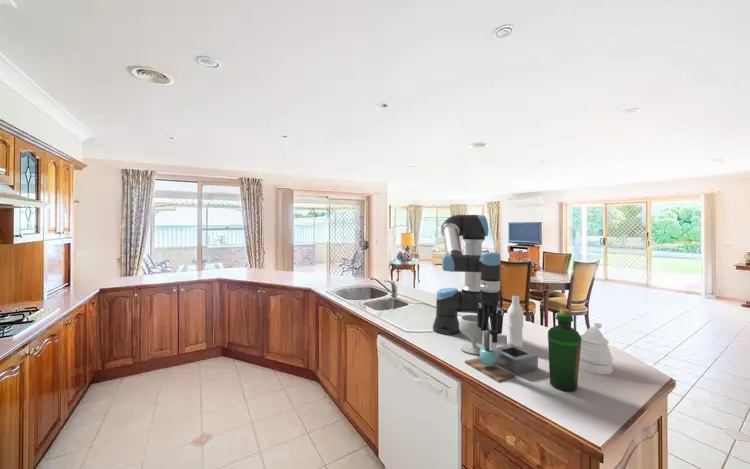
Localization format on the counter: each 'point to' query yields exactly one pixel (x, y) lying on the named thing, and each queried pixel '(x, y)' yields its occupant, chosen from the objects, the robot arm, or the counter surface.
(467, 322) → the chalice
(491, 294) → the robot arm
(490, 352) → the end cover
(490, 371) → the walnut mat
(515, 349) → the box
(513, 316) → the water bottle
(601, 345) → the honey pot
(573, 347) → the bottle
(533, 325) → the counter surface
